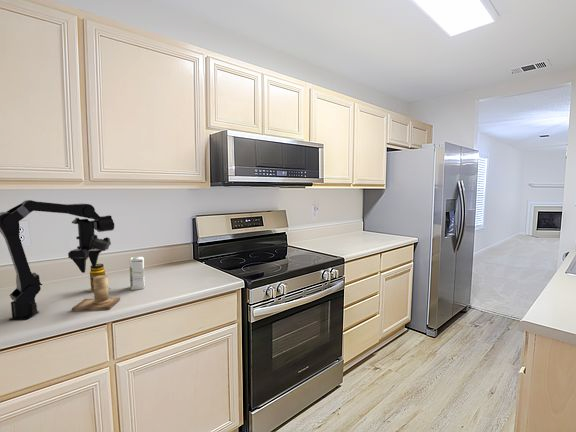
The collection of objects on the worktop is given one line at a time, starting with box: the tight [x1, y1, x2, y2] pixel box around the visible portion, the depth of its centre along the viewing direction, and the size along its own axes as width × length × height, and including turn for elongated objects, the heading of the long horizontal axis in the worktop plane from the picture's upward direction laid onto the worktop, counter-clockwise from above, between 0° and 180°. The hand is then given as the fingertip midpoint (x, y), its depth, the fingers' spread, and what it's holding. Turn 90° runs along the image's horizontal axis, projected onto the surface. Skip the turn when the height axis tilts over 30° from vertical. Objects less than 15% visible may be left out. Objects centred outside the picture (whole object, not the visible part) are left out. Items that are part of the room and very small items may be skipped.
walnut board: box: [71, 297, 121, 312], centre depth 129 cm, size 14×10×1 cm
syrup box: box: [129, 256, 146, 291], centre depth 150 cm, size 6×6×14 cm
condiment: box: [85, 263, 110, 293], centre depth 148 cm, size 7×8×12 cm
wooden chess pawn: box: [93, 274, 111, 305], centre depth 129 cm, size 6×6×10 cm
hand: (89, 269), depth 135 cm, fingers open, 9 cm apart
